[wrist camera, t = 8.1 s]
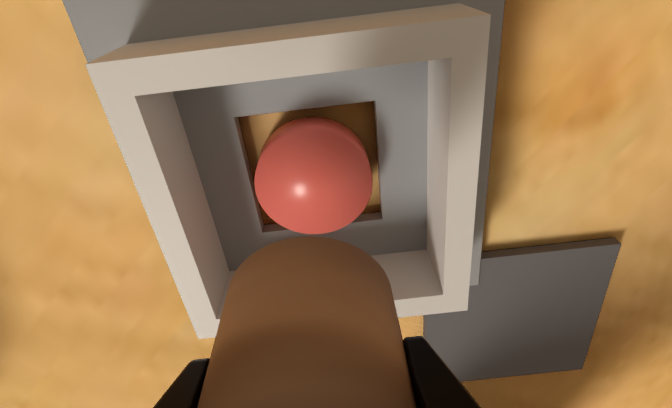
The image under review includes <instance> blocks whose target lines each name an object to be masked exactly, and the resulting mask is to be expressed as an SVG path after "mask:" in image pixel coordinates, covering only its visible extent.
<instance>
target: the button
mask: <svg viewBox="0 0 672 408" xmlns="http://www.w3.org/2000/svg"><path fill="white" fill-rule="evenodd" d="M254 186H255V192H256V196H257V199H258V201H259V203H260V205H261V207H262V208H263V210H264V211H265V212H266V213H267V215H268V216H269V217H270V218H271V219H273V220H274V221H275V222H276V223H278V224H279V225H281V226H283V227H285V228H287V229H289V230H292V231H295V232H299V233H304V234H323V233H329V232H333V231H336V230H338V229H341V228H343V227H345V226H347V225H348V224H350V223H351V222H352V221H354V220H355V219H356V218H357V217H358V216H359V215H360V214H361V213H362V212H363V210H364V209H365V207H366V206H367V204H368V201H369V199H370V196H371V193H372V173H371V169H370V165H369V161H368V156H367V153H366V150H365V148H364V146H363V144H362V142H361V141H360V139H359V138H358V137H357V136H356V134H355V133H354V132H353V131H351V130H350V129H349V128H348V127H346V126H345V125H343V124H341V123H339V122H337V121H334V120H331V119H328V118H323V117H304V118H298V119H295V120H292V121H290V122H288V123H286V124H284V125H282V126H281V127H279V128H278V129H277V130H275V131H274V132H273V133H272V134H271V135H270V137H269V138H268V139H267V141H266V142H265V144H264V146H263V148H262V151H261V154H260V157H259V161H258V165H257V168H256V172H255V179H254Z"/></svg>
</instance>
